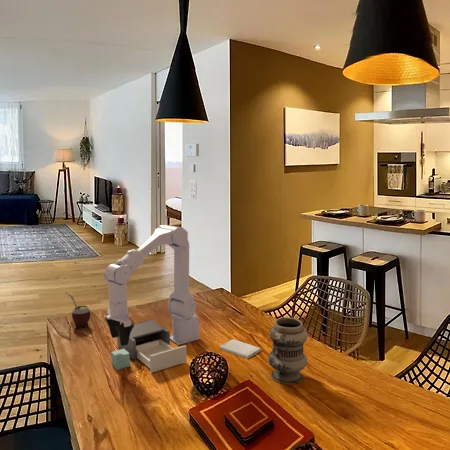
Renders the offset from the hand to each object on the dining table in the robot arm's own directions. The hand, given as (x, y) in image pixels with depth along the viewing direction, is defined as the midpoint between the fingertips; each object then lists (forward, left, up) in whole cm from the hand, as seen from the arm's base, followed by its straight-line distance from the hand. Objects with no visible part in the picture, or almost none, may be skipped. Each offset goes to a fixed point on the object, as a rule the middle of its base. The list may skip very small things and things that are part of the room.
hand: (119, 340), depth 145 cm
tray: (-12, +3, -8) cm, 15 cm away
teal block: (0, 0, -9) cm, 9 cm away
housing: (-12, -8, -8) cm, 17 cm away
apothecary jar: (-39, +38, -9) cm, 55 cm away
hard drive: (-39, +14, -9) cm, 43 cm away
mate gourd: (0, -41, -9) cm, 42 cm away
